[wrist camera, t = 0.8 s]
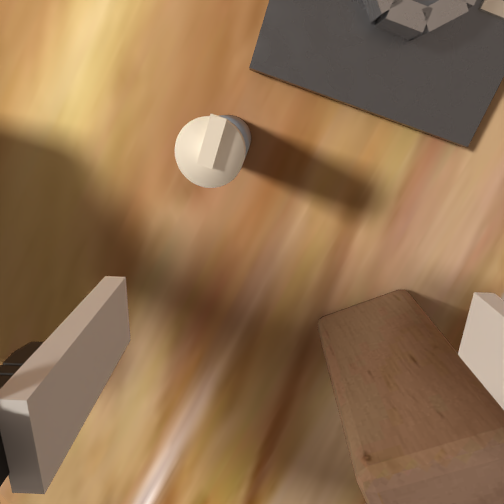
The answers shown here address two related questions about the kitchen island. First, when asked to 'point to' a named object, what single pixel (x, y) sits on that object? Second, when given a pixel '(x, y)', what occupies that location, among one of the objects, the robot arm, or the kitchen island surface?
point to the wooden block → (411, 407)
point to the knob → (212, 149)
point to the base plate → (391, 57)
